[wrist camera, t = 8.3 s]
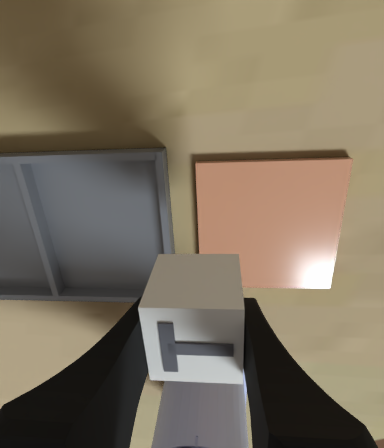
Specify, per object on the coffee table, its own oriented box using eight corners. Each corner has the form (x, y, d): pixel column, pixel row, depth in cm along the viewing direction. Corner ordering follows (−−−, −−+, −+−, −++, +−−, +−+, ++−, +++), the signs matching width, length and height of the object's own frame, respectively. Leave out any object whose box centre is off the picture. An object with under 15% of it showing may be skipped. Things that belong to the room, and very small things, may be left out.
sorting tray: (178, 291, 25) (175, 303, 24) (-38, 287, 27) (-52, 298, 26) (166, 147, 20) (161, 151, 19) (-98, 156, 22) (-119, 160, 21)
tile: (327, 284, 23) (330, 288, 23) (201, 282, 24) (200, 286, 24) (349, 157, 19) (353, 159, 19) (196, 161, 20) (195, 163, 20)
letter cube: (238, 317, 16) (243, 386, 12) (165, 315, 16) (149, 382, 13) (238, 253, 14) (244, 311, 11) (158, 254, 15) (137, 309, 11)
